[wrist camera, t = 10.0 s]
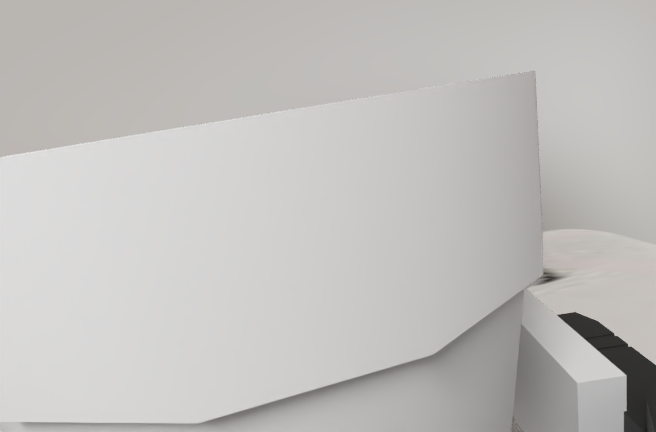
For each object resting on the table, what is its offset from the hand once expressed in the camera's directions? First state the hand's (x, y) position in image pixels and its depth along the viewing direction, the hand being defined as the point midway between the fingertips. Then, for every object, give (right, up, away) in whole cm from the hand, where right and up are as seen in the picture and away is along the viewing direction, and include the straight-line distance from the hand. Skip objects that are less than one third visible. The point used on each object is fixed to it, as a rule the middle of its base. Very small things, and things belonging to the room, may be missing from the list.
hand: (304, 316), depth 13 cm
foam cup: (+1, -8, -3) cm, 8 cm away
